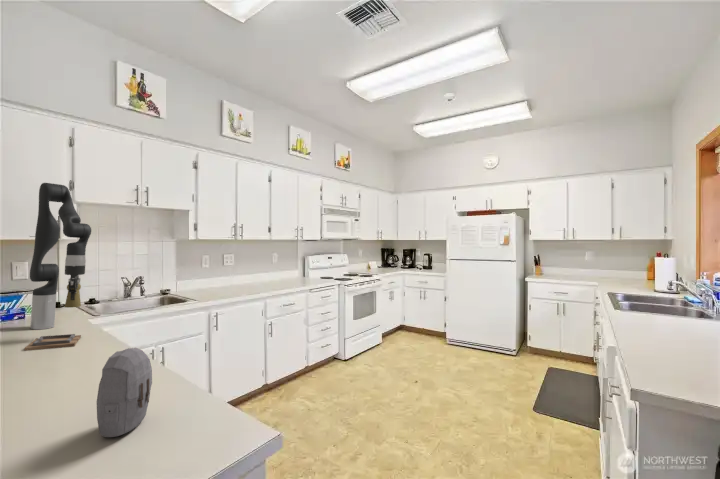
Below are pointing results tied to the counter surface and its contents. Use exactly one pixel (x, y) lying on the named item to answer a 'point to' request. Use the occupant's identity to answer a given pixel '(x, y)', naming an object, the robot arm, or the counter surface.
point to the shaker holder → (53, 342)
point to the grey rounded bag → (123, 392)
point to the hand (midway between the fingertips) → (73, 300)
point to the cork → (70, 302)
